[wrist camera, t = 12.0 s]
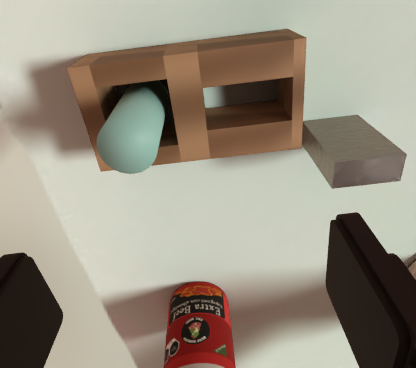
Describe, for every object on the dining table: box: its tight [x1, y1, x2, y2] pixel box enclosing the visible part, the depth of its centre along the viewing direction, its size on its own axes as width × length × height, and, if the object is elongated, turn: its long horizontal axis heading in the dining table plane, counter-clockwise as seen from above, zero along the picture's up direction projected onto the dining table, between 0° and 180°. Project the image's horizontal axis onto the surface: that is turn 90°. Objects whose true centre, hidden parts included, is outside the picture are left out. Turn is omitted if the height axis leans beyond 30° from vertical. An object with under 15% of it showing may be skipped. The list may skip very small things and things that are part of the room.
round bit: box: [96, 80, 169, 174], centre depth 24 cm, size 4×4×10 cm
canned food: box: [164, 282, 236, 368], centre depth 37 cm, size 8×8×11 cm
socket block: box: [67, 29, 306, 171], centre depth 26 cm, size 8×16×5 cm, turn 96°
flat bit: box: [302, 115, 406, 189], centre depth 27 cm, size 2×5×8 cm, turn 96°
